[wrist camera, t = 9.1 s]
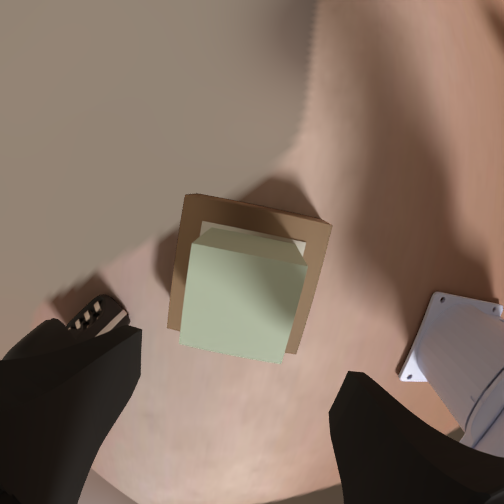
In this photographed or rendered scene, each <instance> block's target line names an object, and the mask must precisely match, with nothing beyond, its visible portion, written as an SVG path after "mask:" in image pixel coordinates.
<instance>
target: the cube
mask: <svg viewBox="0 0 504 504" xmlns="http://www.w3.org/2000/svg"><path fill="white" fill-rule="evenodd" d="M307 269H308V265H307V264H306V262H305V260H304V258H303V257H302V255H301V253H300V251H299V250H298V248H297V246H296V244H293V243H288V242H283V241H278V240H273V239H268V238H263V237H258V236H253V235H248V234H243V233H238V232H233V231H228V230H223V229H218V228H213V227H211V228H210V229H209V230H207V231H206V232H205V233H204V234H202V235H201V236H200V237H199V238H197V239H196V240H195V241H194V242H193V243H192V245H191V252H190V259H189V265H188V273H187V280H186V287H185V295H184V303H183V311H182V320H181V329H180V339H179V344H182V345H186V346H190V347H194V348H199V349H203V350H207V351H212V352H217V353H222V354H226V355H231V356H237V357H242V358H247V359H253V360H259V361H264V362H271V363H277V364H281V363H282V359H283V356H284V353H285V349H286V346H287V342H288V339H289V336H290V332H291V329H292V325H293V321H294V318H295V314H296V311H297V307H298V303H299V299H300V296H301V292H302V288H303V284H304V280H305V276H306V273H307Z"/></svg>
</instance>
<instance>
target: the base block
mask: <svg viewBox="0 0 504 504" xmlns="http://www.w3.org/2000/svg"><path fill="white" fill-rule="evenodd" d="M211 227H213V228H218V229H223V230H228V231H233V232H238V233H243V234H248V235H253V236H258V237H263V238H268V239H273V240H278V241H283V242H288V243H293V244H296V246H297V248H298V250H299V251H300V253H301V255H302V257H303V258H304V260H305V262H306V264H307V265H308V269H307V273H306V276H305V280H304V284H303V288H302V292H301V296H300V299H299V303H298V307H297V311H296V314H295V318H294V321H293V325H292V329H291V332H290V336H289V339H288V342H287V346H286V349H285V353H290V354H296V353H297V350H298V347H299V344H300V341H301V338H302V334H303V331H304V328H305V325H306V321H307V318H308V315H309V311H310V308H311V304H312V301H313V298H314V294H315V290H316V287H317V283H318V280H319V276H320V272H321V268H322V265H323V261H324V257H325V253H326V249H327V245H328V241H329V237H330V233H331V229H332V225H331V224H329V223H327V222H325V221H324V220H322V219H318V218H314V217H310V216H305V215H301V214H296V213H292V212H287V211H283V210H278V209H273V208H269V207H264V206H259V205H254V204H249V203H244V202H239V201H234V200H229V199H224V198H219V197H214V196H208V195H203V194H189V195H185V198H184V204H183V210H182V216H181V222H180V228H179V234H178V241H177V248H176V255H175V262H174V270H173V277H172V286H171V294H170V303H169V312H168V323H167V328H169V329H173V330H177V331H180V329H181V320H182V311H183V303H184V295H185V287H186V280H187V273H188V265H189V259H190V252H191V245H192V243H193V242H194V241H195V240H196V239H197V238H199V237H200V236H201V235H202V234H204V233H205V232H206V231H207V230H209V229H210V228H211Z"/></svg>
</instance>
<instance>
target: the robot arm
mask: <svg viewBox="0 0 504 504" xmlns="http://www.w3.org/2000/svg"><path fill="white" fill-rule="evenodd" d="M442 297H443V299H442V301H440V300H441V298H442ZM502 311H503V306H502V305H500V304H497V303H492V302H487V301H482V300H477V299H473V298H468V297H463V296H458V295H453V294H448V293H443V292H435V293H434V294H433V295H432V297H431V300H430V302H429V305H428V308H427V311H426V313H425V316H424V319H423V321H422V324H421V326H420V329H419V331H418V333H417V336H416V338H415V341H414V343H413V345H412V347H411V350H410V352H409V354H408V356H407V359H406V361H405V363H404V365H403V367H402V369H401V371H400V373H399V376H398V377H399V379H400V380H401V381H414V382H429V383H430V385H431V386H432V387H433V389H434V390H435V391H436V393H437V394H438V396H439V397H440V398H441V400H442V401H443V402H444V404H445V405H446V407H447V408H448V409H449V411H450V412H451V414H452V415H453V416H454V418H455V419H456V421H457V422H458V423H459V425H460V426H461V428H462V429H463V431H464V432H465V434H464V436H463V438H462V439H461V440H460V443H459V442H457V441H455V440H453V439H451V438H449V437H448V436H446V435H444V434H442V433H441V432H439V431H437V430H436V429H434V428H433V427H431V426H429V425H428V424H427V423H425V422H424V421H422V420H421V419H420V418H418V417H417V416H416V415H414V414H413V413H412V412H410V411H409V410H408V409H407V408H405V407H404V406H403V405H402V404H401V403H399V402H398V401H397V400H396V399H395V398H394V397H392V396H391V395H390V394H389V393H388V392H387V391H386V390H384V389H383V388H382V387H381V386H380V385H379V384H378V383H376V382H375V381H374V380H373V379H372V378H370V377H369V376H368V375H366V374H365V373H363V372H353V371H348V373H347V375H346V377H345V380H344V382H343V384H342V386H341V388H340V390H339V392H338V395H337V397H336V399H335V401H334V403H333V405H332V407H331V409H330V411H329V424H330V435H331V440H332V444H333V449H334V453H335V457H336V461H337V466H338V470H339V474H340V479H341V483H342V488H343V496H344V504H504V319H503V318H501V317H500V316H501V313H502ZM141 343H142V329H139V328H136V327H132V326H129V325H124V326H121V327H118V328H116V329H113V330H111V331H108V332H106V333H104V334H101V335H99V336H96V337H94V338H91V339H89V340H86V341H84V342H81V343H78V344H75V345H72V346H69V347H66V348H63V349H60V350H57V351H54V352H50V353H46V354H42V355H37V356H32V357H27V358H19V359H10V360H0V504H77V503H78V500H79V497H80V494H81V491H82V488H83V486H84V483H85V481H86V478H87V476H88V473H89V470H90V468H91V466H92V463H93V461H94V459H95V457H96V454H97V452H98V450H99V448H100V446H101V444H102V443H103V441H104V439H105V437H106V436H107V434H108V433H109V431H110V429H111V428H112V426H113V425H114V423H115V422H116V420H117V418H118V417H119V415H120V414H121V412H122V411H123V409H124V407H125V406H126V404H127V403H128V401H129V399H130V398H131V396H132V394H133V391H134V389H135V387H136V385H137V382H138V380H139V378H140V376H141ZM408 375H410V376H408Z"/></svg>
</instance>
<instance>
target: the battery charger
mask: <svg viewBox="0 0 504 504" xmlns="http://www.w3.org/2000/svg"><path fill="white" fill-rule="evenodd" d="M126 314H127V313H126V312H125V310H122V309H121V307H120V306H119V305H118V304H117V303H116V302H115V301H114V300H113V299H112V298H111V297H109V296H107V295H104V294H102V295H99V296H97V297H96V298H94V299H93V300H92V301H91V302H90V303H89V304H88V305H87V306H86V307H85V308H83V309H82V310H81V311H80V312H79V313H78V314H77V315H76V316H75V317H74V318H73V319H72V320H71V321H70V322H69V323H68V325H67V326H65V325H64V324H63V323H62V322H61V321H59V320H58V319H55V318H52V319H51V320H45V321H44V322H43V323H41V324H40V325H39V326H37V327H36V328H35V329H34V330H32V331H31V332H30V333H29V334H27V335H26V336H25V337H24V338H23V339H21V340H20V341H19V342H18V343H17V344H16V345H15V346H14V347H12V348H11V349H10V350H9V352H8V353H7V354H6V355H5V356H4V358H3V359H2V360H10V359H19V358H27V357H32V356H37V355H42V354H46V353H50V352H54V351H57V350H60V349H63V348H66V347H69V346H72V345H75V344H78V343H81V342H84V341H86V340H89V339H91V338H94V337H96V336H99V335H101V334H104V333H106V332H108V331H111V330H113V329H116V328H118V327H121V326H124V325H129V323H130V319H129V317H128V316H127V315H126Z"/></svg>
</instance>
